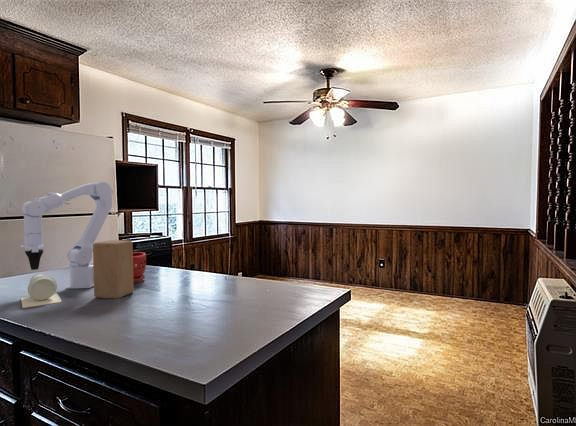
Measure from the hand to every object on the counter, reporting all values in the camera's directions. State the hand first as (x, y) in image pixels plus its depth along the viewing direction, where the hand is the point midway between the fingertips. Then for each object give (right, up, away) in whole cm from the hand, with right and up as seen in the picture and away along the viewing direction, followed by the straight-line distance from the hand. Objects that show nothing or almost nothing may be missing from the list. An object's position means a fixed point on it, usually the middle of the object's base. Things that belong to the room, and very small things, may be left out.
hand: (34, 269), depth 138 cm
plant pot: (+27, -9, +21) cm, 35 cm away
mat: (+8, -10, -8) cm, 15 cm away
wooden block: (+31, -10, -2) cm, 32 cm away
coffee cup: (+2, -4, -1) cm, 5 cm away
